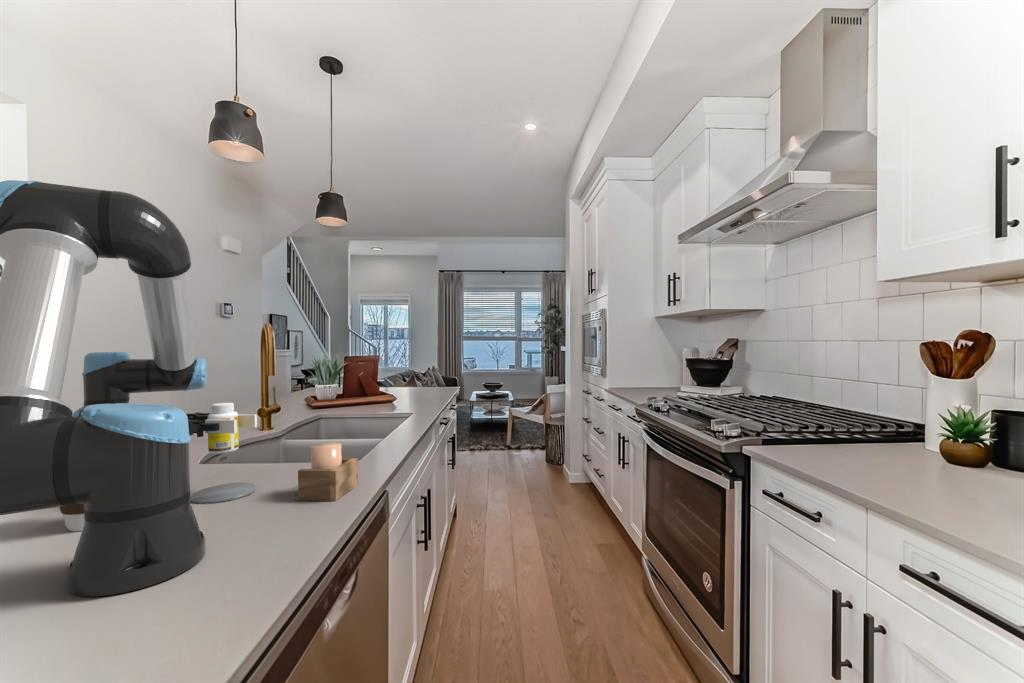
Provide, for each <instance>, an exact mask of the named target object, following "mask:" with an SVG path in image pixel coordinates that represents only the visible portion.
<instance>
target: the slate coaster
mask: <svg viewBox="0 0 1024 683" xmlns="http://www.w3.org/2000/svg"><path fill="white" fill-rule="evenodd" d="M256 489H257V490H258V485H257V484H255V483H252V482H231V483H223V484H218V485H213V486H210V487H206V488H203V489H200V490H197V491H195V492H193V493H191V494H190V500H191V501H192V502H191V501H190V502H191V503H193V502H195V503H194V504H199V503H210V504H216V503H215V502H220V503H224V502H223V501H226V502H229V501H228V500H231V501H233V500H232V499H235V500H237V499H236V498H239V499H241V498H240V497H242V498H244V496H245V497H247V496H246V495H248V496H249V494H250V495H251V493H252V494H253V492H254V491H255V490H256ZM257 490H256V491H257ZM256 491H255V492H256ZM255 492H254V493H255Z"/></svg>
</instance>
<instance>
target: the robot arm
mask: <svg viewBox="0 0 1024 683" xmlns="http://www.w3.org/2000/svg"><path fill="white" fill-rule="evenodd" d="M0 258H1V259H2V260H3V261H4V265H3V269H2V272H1V276H0V516H6V515H12V514H18V513H19V514H20V513H25V512H31V511H38V510H39V511H40V510H45V509H52V508H58V507H59V508H60V506H67V505H74V504H84V528H83V531H81V535H80V537H79V540H78V542H77V545H76V546H77V547H76V549H75V553H74V556H73V560H72V561H71V562H70V563H69V566H68V568H67V572H66V590H67V591H68V593H70V594H72V595H76V596H80V597H104V596H111V595H117V594H118V595H119V594H123V593H129V592H132V591H133V592H134V591H135V590H140V589H144V588H147V587H150V586H154V585H157V584H159V583H162V582H164V581H168V580H169V579H172V578H174V577H177V576H178V575H180V574H183V573H185V572H186V571H189V570H190V569H192V568H194V566H196V565H197V564H199V563H200V561H202V560H203V558H204V557H205V555H206V538H205V535H204V533H203V531H201V529H200V527H199V524H198V520H197V517H196V515H195V513H194V510H193V507H192V505H191V503H192V502H191V501H190V496H191V477H190V476H191V474H190V473H191V472H190V471H191V470H190V442H191V441H192V436H193V435H194V434H196V438H202V437H204V433H205V434H208V433H237V420H211V419H208V415H209V414H211V413H212V412H194V413H186V412H185V411H184V410H182V409H180V407H175V406H171V405H166V404H165V405H164V404H157V403H156V404H154V403H153V404H152V403H151V404H150V403H135V402H134V403H131V402H130V394H139V393H140V394H141V393H157V392H178V391H181V392H182V391H184V392H185V391H193V390H201V389H204V388H205V387H206V385H207V384H208V383H207V381H208V380H207V379H208V365H207V364H208V363H207V360H206V359H205V358H203V357H196V355H195V354H196V353H195V346H194V344H195V343H194V335H193V328H192V317H191V311H190V310H191V309H190V308H191V307H190V301H189V292H188V283H187V282H188V281H187V273H188V272H189V271H190V270H191V268H192V262H191V253H190V250H189V247H188V243H187V242H186V239H185V237H184V236H183V235H182V233H181V231H180V229H179V228H178V227H177V226H176V224H175V223H174V222H173V221H172V219H170V218H169V217H168V215H166V214H165V213H164V212H163V211H162V210H160V208H159V207H157V206H156V205H154V204H152V203H151V202H149V201H147V200H146V199H145V198H142V197H140V196H137V195H135V194H132V193H128V192H125V191H118V190H113V191H112V190H107V189H106V190H105V189H96V188H88V187H81V186H73V185H67V184H58V183H57V184H56V183H49V182H43V181H39V180H17V179H11V180H4V181H0ZM99 258H101V259H116V260H117V259H122V260H127V265H128V268H129V269H130V271H131V272H133V274H135V275H137V278H138V279H137V280H138V285H139V290H140V293H141V294H140V295H141V300H142V306H143V311H144V316H145V321H146V325H147V330H148V331H147V332H148V335H149V336H148V337H149V341H150V347H151V351H152V352H151V353H152V356H153V359H151V358H150V359H147V358H146V359H145V358H144V359H143V358H142V359H140V358H139V359H137V358H136V359H135V358H132V359H131V358H130V357H129V356H130V355H129V353H128V352H127V351H100V352H99V351H97V352H89V353H87V354H85V355H84V358H83V370H82V371H83V372H82V373H81V375H82V378H83V379H82V381H83V383H82V384H83V403H82V404H83V406H81V407H80V408H78V409H77V410H75V411H73V409H72V407H71V406H70V405H68V404H67V403H66V402H64V401H62V400H61V397H62V391H63V385H64V381H65V376H66V375H65V374H66V369H67V364H68V359H69V352H70V347H71V342H72V336H73V331H74V325H75V320H76V314H77V308H78V302H79V298H80V292H81V286H82V281H83V276H86V275H88V274H91V273H92V272H93V271H94V270H96V268H97V266H98V261H99ZM257 427H258V414H240V413H238V428H257Z"/></svg>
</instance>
